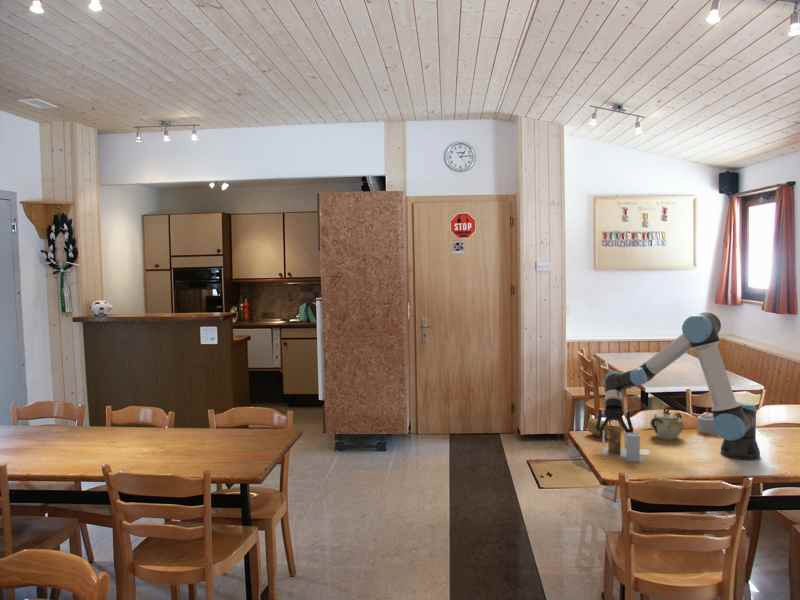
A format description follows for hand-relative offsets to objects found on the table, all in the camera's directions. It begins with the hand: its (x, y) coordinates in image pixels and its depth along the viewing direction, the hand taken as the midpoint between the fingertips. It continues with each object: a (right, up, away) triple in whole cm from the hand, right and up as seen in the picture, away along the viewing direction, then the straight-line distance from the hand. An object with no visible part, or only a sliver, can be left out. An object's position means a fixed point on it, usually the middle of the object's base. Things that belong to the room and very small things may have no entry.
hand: (614, 445), depth 274 cm
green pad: (+12, -4, +3) cm, 13 cm away
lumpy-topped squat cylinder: (+59, -1, +33) cm, 68 cm away
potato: (+3, -3, +28) cm, 29 cm away
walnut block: (+1, -4, +3) cm, 5 cm away
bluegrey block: (+5, -4, -7) cm, 10 cm away
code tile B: (+5, -5, -7) cm, 10 cm away
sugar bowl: (+34, -2, +25) cm, 42 cm away
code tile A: (+1, -4, +3) cm, 5 cm away
